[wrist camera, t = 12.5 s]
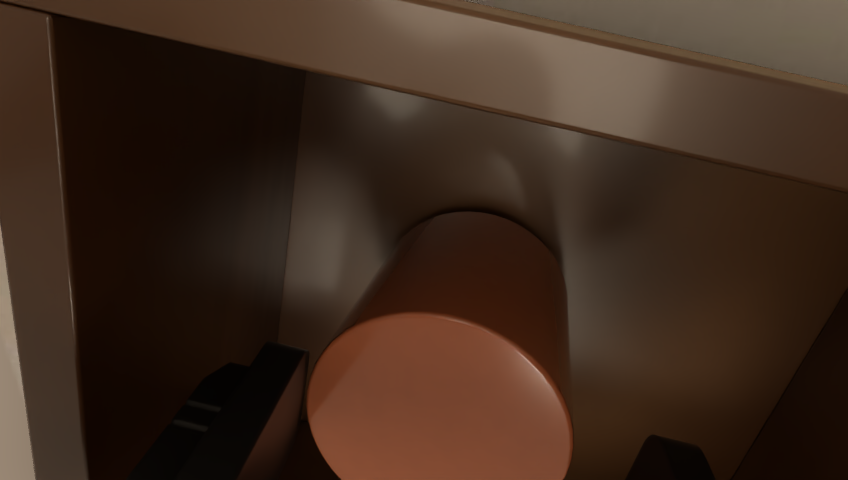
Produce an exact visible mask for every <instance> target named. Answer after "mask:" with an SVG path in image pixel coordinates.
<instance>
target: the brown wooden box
mask: <svg viewBox="0 0 848 480" xmlns="http://www.w3.org/2000/svg"><path fill="white" fill-rule="evenodd" d="M466 211H471V212H482V213H487V214H492V215H496V216H499V217H502V218H505V219H508V220H510V221H512V222H514V223H516V224H518V225H520V226H522V227H523V228H525V229H526V230H528V231H529V232H531V233H532V234H533V235H534V236H536V237H537V238H538V239H539V240H540V241H541V242H542V243H543V244H544V245H545V246H546V247H547V248H548V249H549V251H550V252H551V254H552V255H553V256H554V258H555V259H556V261H557V263H558V265H559V267H560V269H561V271H562V274H563V276H564V279H565V282H566V288H567V293H568V315H569V337H570V360H571V382H572V404H573V427H574V449H573V455H572V461H571V464H570V467H569V470H568V473H567V475H566V476H565V478H564V480H625V479H626V477H627V475H628V473H629V471H630V469H631V467H632V465H633V463H634V461H635V459H636V457H637V455H638V453H639V451H640V449H641V447H642V445H643V443H644V441H645V440H646V439H647V437H649V436H650V435H658V436H662V437H666V438H670V439H674V440H679V441H683V442H687V443H691V444H695V445H697V446H699V447H700V449H701V450H702V451H703V453H704V455H705V457H706V459H707V462H708V464H709V466H710V468H711V470H712V472H713V474H714V477H715V479H716V480H848V86H847V85H842V84H837V83H833V82H828V81H824V80H819V79H815V78H810V77H806V76H801V75H797V74H792V73H788V72H783V71H779V70H774V69H770V68H765V67H761V66H756V65H752V64H747V63H743V62H738V61H734V60H729V59H725V58H720V57H716V56H711V55H707V54H702V53H698V52H693V51H689V50H684V49H680V48H675V47H671V46H666V45H662V44H657V43H653V42H648V41H644V40H639V39H635V38H630V37H626V36H621V35H617V34H612V33H608V32H603V31H599V30H594V29H590V28H585V27H581V26H576V25H572V24H567V23H563V22H558V21H554V20H549V19H545V18H540V17H536V16H531V15H527V14H522V13H518V12H513V11H509V10H504V9H500V8H495V7H491V6H486V5H482V4H477V3H473V2H468V1H464V0H0V224H1V231H2V238H3V246H4V253H5V260H6V267H7V275H8V282H9V289H10V297H11V304H12V311H13V318H14V326H15V333H16V340H17V348H18V355H19V362H20V369H21V377H22V384H23V391H24V398H25V406H26V413H27V420H28V428H29V435H30V442H31V449H32V457H33V464H34V471H35V479H36V480H125V479H126V478H127V477H128V476H129V474H130V473H131V472H132V470H133V469H134V468H135V466H136V465H137V464H138V463H139V461H140V460H141V459H142V457H143V456H144V455H145V454H146V452H147V451H148V450H149V448H150V447H151V446H152V444H153V443H154V442H155V441H156V439H157V438H158V437H159V435H160V434H161V433H162V432H163V430H164V429H165V428H166V426H167V425H168V424H171V422H172V419H173V417H174V416H175V415H176V413H177V412H178V411H179V410H180V408H181V407H182V406H183V405H185V404H186V402H187V399H188V398H189V397H190V395H191V394H192V393H193V392H194V390H195V389H196V388H197V386H198V385H199V384H200V382H201V381H202V380H203V379H204V378H205V377H206V376H208V375H210V374H211V373H213V372H215V371H216V370H218V369H219V368H221V367H223V366H224V365H226V364H228V363H229V362H232V363H236V364H240V365H245V366H250V365H251V363H252V362H253V360H254V359H255V358H256V356H257V355H258V353H259V352H260V350H261V349H262V347H263V346H264V344H265V343H266V342H267V341H272V342H277V343H281V344H285V345H289V346H293V347H297V348H301V349H306V350H309V354H310V357H309V366H308V373H307V380H306V387H305V394H304V402H303V409H302V416H301V421H300V425H299V429H298V432H297V436H296V439H295V442H294V445H293V447H292V450H291V452H290V454H289V457H288V459H287V461H286V463H285V465H284V468H283V470H282V472H281V474H280V476H279V479H278V480H340V479H339V477H338V476H337V475H336V474H335V473H334V472H333V471H332V469H331V468H330V467H329V465H328V464H327V462H326V461H325V459H324V458H323V456H322V455H321V453H320V451H319V449H318V447H317V445H316V443H315V441H314V438H313V435H312V433H311V430H310V426H309V421H308V416H307V406H306V402H307V388H308V383H309V379H310V375H311V372H312V370H313V368H314V365H315V363H316V361H317V360H318V358H319V356H320V355H321V353H322V352H323V350H324V349H325V347H326V346H327V344H328V343H329V341H330V340H331V338H332V337H333V335H334V334H335V333H336V331H337V330H338V328H339V327H340V325H341V324H342V322H343V321H344V319H345V318H346V316H347V315H348V314H349V312H350V311H351V309H352V308H353V306H354V305H355V303H356V302H357V300H358V299H359V298H360V296H361V295H362V293H363V292H364V290H365V289H366V287H367V286H368V284H369V283H370V281H371V280H372V279H373V277H374V276H375V274H376V273H377V271H378V270H379V268H380V267H381V265H382V264H383V263H384V261H385V260H386V258H387V257H388V255H389V254H390V252H391V251H392V249H393V248H394V246H395V245H396V244H397V243H398V241H399V240H400V239H401V238H402V237H403V236H404V235H405V234H406V233H407V232H409V231H410V230H411V229H412V228H414V227H415V226H417V225H418V224H420V223H422V222H424V221H426V220H428V219H430V218H433V217H436V216H439V215H442V214H447V213H453V212H466Z"/></svg>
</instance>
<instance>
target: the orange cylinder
mask: <svg viewBox="0 0 848 480" xmlns="http://www.w3.org/2000/svg"><path fill="white" fill-rule="evenodd" d="M306 406H307V416H308V421H309V426H310V430H311V433H312V435H313V438H314V441H315V443H316V445H317V447H318V449H319V451H320V453H321V455H322V456H323V458H324V459H325V461H326V462H327V464H328V465H329V467H330V468H331V469H332V471H333V472H334V473H335V474H336V475H337V476H338V477H339V479H340V480H564V478H565V476H566V475H567V473H568V470H569V467H570V464H571V461H572V455H573V449H574V427H573V404H572V382H571V360H570V337H569V315H568V293H567V288H566V282H565V279H564V276H563V274H562V271H561V269H560V267H559V265H558V263H557V261H556V259H555V258H554V256H553V255H552V254H551V252H550V251H549V249H548V248H547V247H546V246H545V245H544V244H543V243H542V242H541V241H540V240H539V239H538V238H537V237H536V236H534V235H533V234H532V233H531V232H529V231H528V230H526V229H525V228H523V227H522V226H520V225H518V224H516V223H514V222H512V221H510V220H508V219H505V218H502V217H499V216H496V215H492V214H487V213H482V212H471V211H466V212H453V213H447V214H442V215H439V216H436V217H433V218H430V219H428V220H426V221H424V222H422V223H420V224H418V225H417V226H415V227H414V228H412V229H411V230H410V231H409V232H407V233H406V234H405V235H404V236H403V237H402V238H401V239H400V240H399V241H398V243H397V244H396V245H395V246H394V248H393V249H392V251H391V252H390V254H389V255H388V257H387V258H386V260H385V261H384V263H383V264H382V265H381V267H380V268H379V270H378V271H377V273H376V274H375V276H374V277H373V279H372V280H371V281H370V283H369V284H368V286H367V287H366V289H365V290H364V292H363V293H362V295H361V296H360V298H359V299H358V300H357V302H356V303H355V305H354V306H353V308H352V309H351V311H350V312H349V314H348V315H347V316H346V318H345V319H344V321H343V322H342V324H341V325H340V327H339V328H338V330H337V331H336V333H335V334H334V335H333V337H332V338H331V340H330V341H329V343H328V344H327V346H326V347H325V349H324V350H323V352H322V353H321V355H320V356H319V358H318V360H317V361H316V363H315V365H314V368H313V370H312V372H311V375H310V379H309V383H308V388H307V402H306Z"/></svg>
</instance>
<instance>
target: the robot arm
mask: <svg viewBox="0 0 848 480" xmlns="http://www.w3.org/2000/svg"><path fill="white" fill-rule="evenodd" d="M309 357H310V354H309V350H306V349H301V348H297V347H293V346H289V345H285V344H281V343H277V342H272V341H267V342H266V343H265V344H264V346H263V347H262V349H261V350H260V352H259V353H258V355H257V356H256V358H255V359H254V360H253V362H252V363H251V365H250V366H245V365H240V364H236V363H232V362H229V363H228V364H226V365H224V366H223V367H221V368H219V369H218V370H216V371H215V372H213V373H211V374H210V375H208V376H206V377H205V378H204V379H203V380H202V381H201V382H200V384H199V385H198V386H197V388H196V389H195V390H194V392H193V393H192V394H191V395H190V397H189V398H188V399H187V402H186V404H185V405H183V406H182V407H181V408H180V410H179V411H178V412H177V413H176V415H175V416H174V417H173V419H172V422H171V424H168V425H167V426H166V428H165V429H164V430H163V432H162V433H161V434H160V435H159V437H158V438H157V439H156V441H155V442H154V443H153V444H152V446H151V447H150V448H149V450H148V451H147V452H146V454H145V455H144V456H143V457H142V459H141V460H140V461H139V463H138V464H137V465H136V466H135V468H134V469H133V470H132V472H131V473H130V474H129V476H128V477H127V478H126V479H125V480H278V479H279V476H280V474H281V472H282V470H283V468H284V465H285V463H286V461H287V459H288V457H289V454H290V452H291V450H292V447H293V445H294V442H295V439H296V436H297V432H298V429H299V425H300V421H301V416H302V409H303V402H304V394H305V387H306V380H307V373H308V366H309ZM625 480H716V479H715V477H714V474H713V472H712V470H711V468H710V466H709V464H708V462H707V459H706V457H705V455H704V453H703V451H702V450H701V449H700V447H699V446H697V445H695V444H691V443H687V442H683V441H679V440H674V439H670V438H666V437H662V436H658V435H650V436H649V437H647V439H646V440H645V441H644V443H643V445H642V447H641V449H640V451H639V453H638V455H637V457H636V459H635V461H634V463H633V465H632V467H631V469H630V471H629V473H628V475H627V477H626V479H625Z"/></svg>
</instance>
